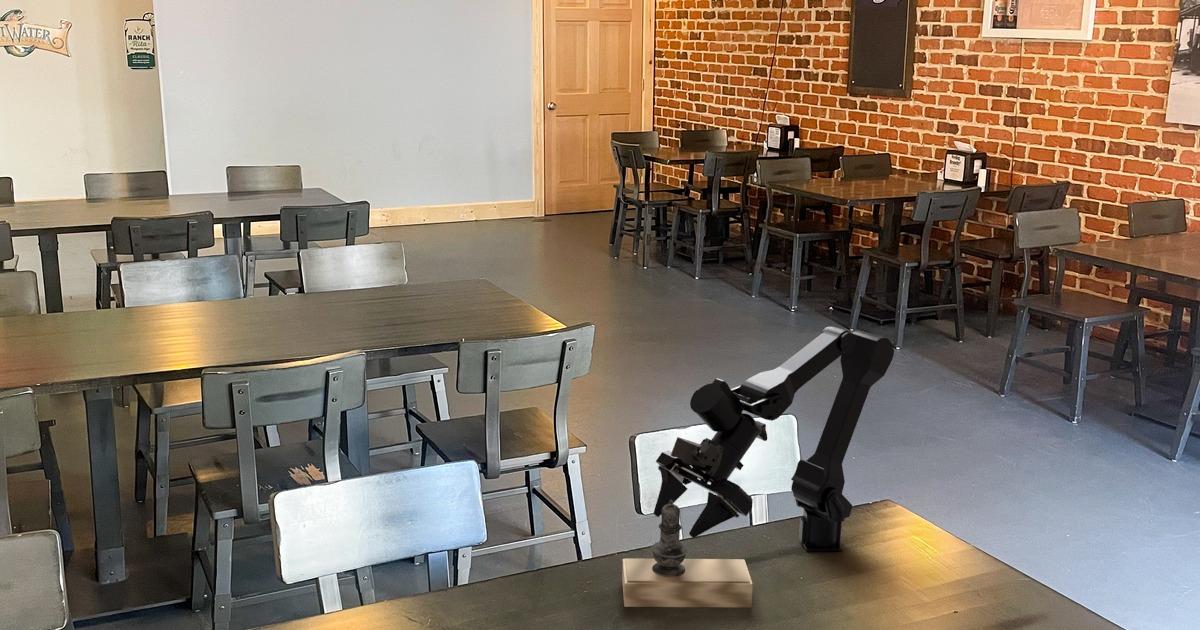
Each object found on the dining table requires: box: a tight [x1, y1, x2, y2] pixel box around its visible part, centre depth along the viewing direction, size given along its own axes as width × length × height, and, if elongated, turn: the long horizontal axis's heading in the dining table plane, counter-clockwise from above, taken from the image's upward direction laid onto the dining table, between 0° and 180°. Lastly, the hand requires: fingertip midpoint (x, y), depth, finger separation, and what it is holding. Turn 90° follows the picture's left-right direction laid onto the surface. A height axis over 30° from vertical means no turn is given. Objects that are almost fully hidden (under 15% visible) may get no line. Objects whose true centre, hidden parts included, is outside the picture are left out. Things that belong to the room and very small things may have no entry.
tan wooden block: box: [621, 558, 753, 608], centre depth 172 cm, size 20×8×4 cm, turn 91°
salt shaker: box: [650, 500, 689, 577], centre depth 170 cm, size 6×6×12 cm
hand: (673, 525), depth 170 cm, fingers open, 9 cm apart
